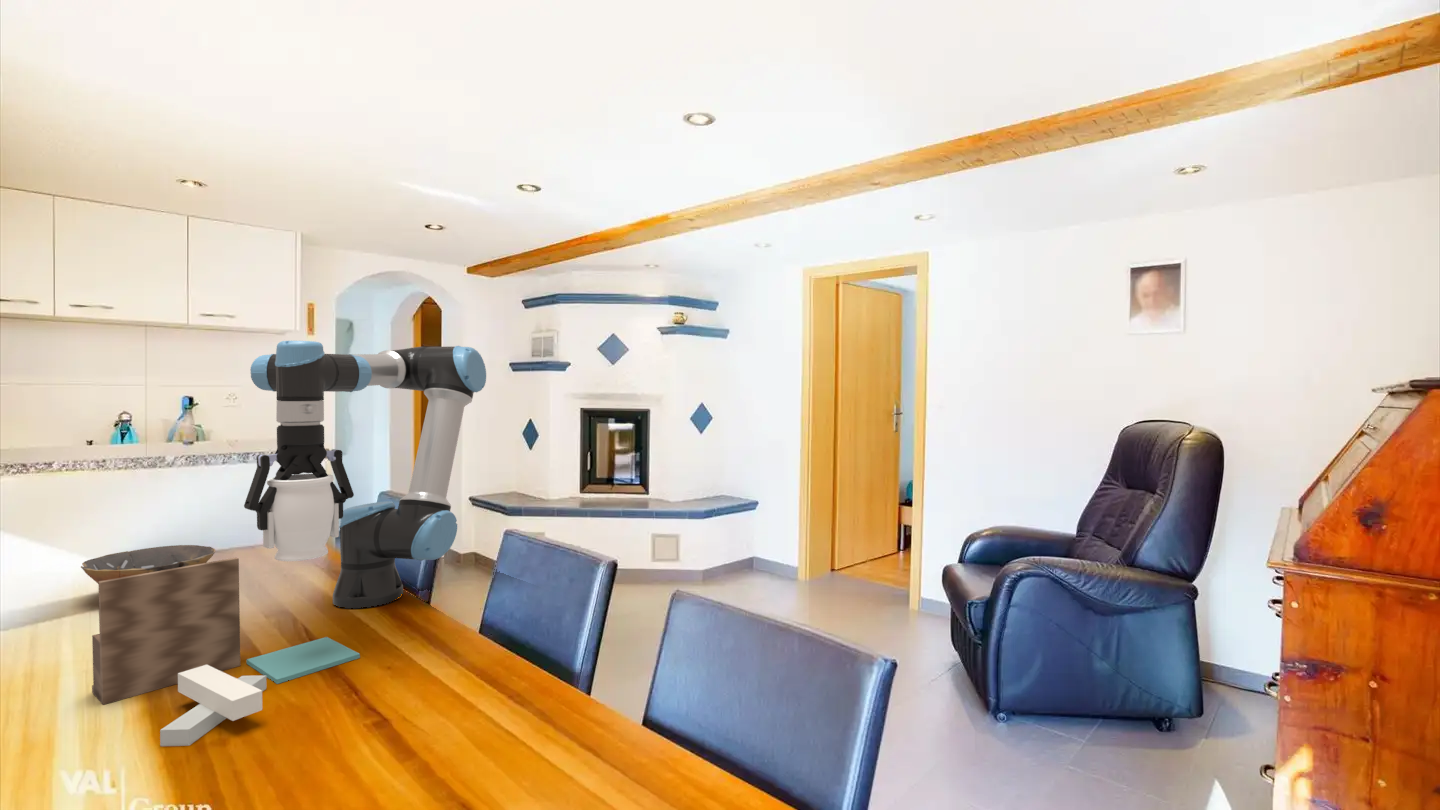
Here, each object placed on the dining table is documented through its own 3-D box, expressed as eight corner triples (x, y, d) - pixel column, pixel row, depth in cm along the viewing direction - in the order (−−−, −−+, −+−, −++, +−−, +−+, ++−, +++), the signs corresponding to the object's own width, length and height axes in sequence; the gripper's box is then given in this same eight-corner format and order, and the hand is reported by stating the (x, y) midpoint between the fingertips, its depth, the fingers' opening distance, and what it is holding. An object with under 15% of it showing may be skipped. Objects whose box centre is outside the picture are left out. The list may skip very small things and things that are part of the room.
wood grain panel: (226, 656, 127) (224, 552, 127) (240, 665, 123) (238, 558, 123) (92, 692, 112) (89, 575, 112) (102, 704, 108) (100, 582, 107)
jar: (263, 566, 118) (262, 482, 117) (272, 553, 127) (271, 475, 127) (332, 559, 123) (331, 478, 122) (336, 547, 132) (335, 472, 131)
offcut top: (177, 691, 108) (177, 673, 108) (206, 682, 111) (206, 664, 111) (232, 721, 99) (232, 701, 98) (262, 709, 102) (262, 690, 102)
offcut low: (242, 693, 114) (242, 675, 114) (266, 692, 114) (266, 675, 114) (160, 750, 96) (160, 729, 96) (189, 749, 96) (189, 729, 96)
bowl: (233, 591, 166) (232, 552, 166) (102, 621, 146) (101, 576, 145) (191, 575, 180) (190, 539, 180) (66, 600, 159) (65, 559, 159)
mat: (326, 640, 135) (326, 636, 135) (359, 657, 127) (359, 653, 127) (246, 663, 124) (246, 659, 124) (277, 684, 116) (277, 679, 116)
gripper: (235, 427, 113) (237, 557, 113) (372, 422, 131) (373, 533, 132) (220, 425, 117) (222, 550, 118) (354, 420, 136) (355, 528, 136)
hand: (302, 541), depth 125 cm, fingers closed on jar, 10 cm apart
